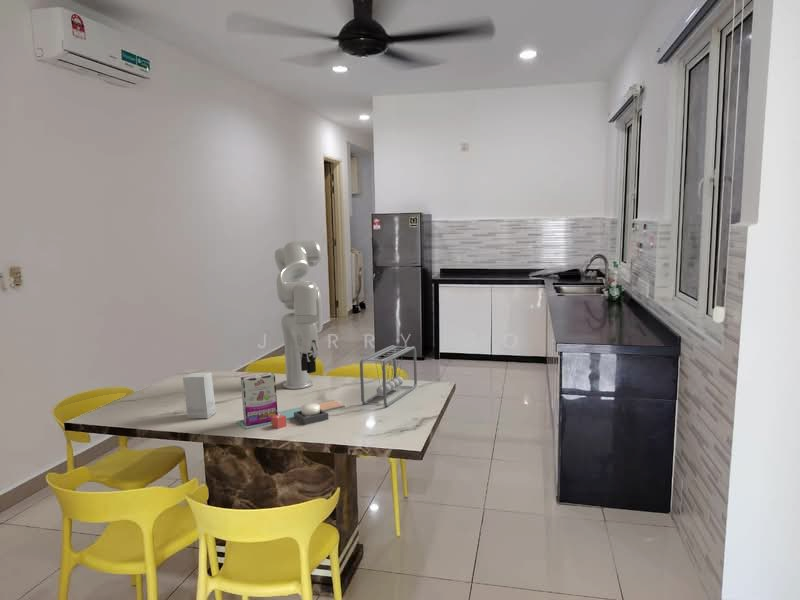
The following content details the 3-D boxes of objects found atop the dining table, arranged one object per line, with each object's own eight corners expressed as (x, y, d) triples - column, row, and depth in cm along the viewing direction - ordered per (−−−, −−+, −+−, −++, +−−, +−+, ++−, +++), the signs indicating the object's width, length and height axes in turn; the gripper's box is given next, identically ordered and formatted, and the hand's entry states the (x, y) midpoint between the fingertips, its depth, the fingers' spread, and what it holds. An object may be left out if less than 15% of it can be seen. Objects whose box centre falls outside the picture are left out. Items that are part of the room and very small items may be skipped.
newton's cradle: (386, 408, 207) (384, 361, 205) (361, 405, 212) (359, 359, 209) (417, 387, 234) (416, 345, 232) (394, 385, 239) (393, 343, 236)
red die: (271, 426, 191) (270, 415, 191) (279, 423, 194) (279, 412, 193) (278, 428, 189) (277, 417, 188) (286, 425, 192) (285, 414, 191)
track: (236, 422, 197) (236, 421, 197) (333, 400, 218) (333, 399, 218) (245, 429, 189) (245, 428, 189) (345, 406, 210) (345, 405, 210)
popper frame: (294, 418, 199) (293, 412, 199) (317, 413, 204) (316, 407, 204) (304, 424, 192) (304, 418, 192) (328, 419, 197) (328, 413, 197)
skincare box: (216, 413, 208) (213, 372, 206) (207, 419, 201) (204, 376, 199) (195, 412, 209) (192, 371, 207) (185, 418, 202) (182, 376, 201)
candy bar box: (274, 416, 202) (272, 371, 200) (278, 420, 197) (275, 374, 195) (243, 422, 197) (240, 376, 195) (246, 426, 192) (243, 379, 190)
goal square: (305, 407, 211) (305, 406, 211) (334, 401, 218) (334, 400, 218) (315, 412, 204) (315, 411, 204) (344, 406, 211) (344, 405, 211)
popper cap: (298, 412, 199) (298, 406, 198) (315, 408, 202) (314, 402, 202) (306, 417, 193) (306, 410, 193) (323, 413, 197) (322, 406, 197)
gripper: (286, 318, 198) (289, 368, 201) (306, 323, 185) (309, 377, 187) (305, 315, 203) (308, 365, 205) (326, 320, 189) (329, 374, 191)
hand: (308, 370), depth 196 cm, fingers open, 3 cm apart
